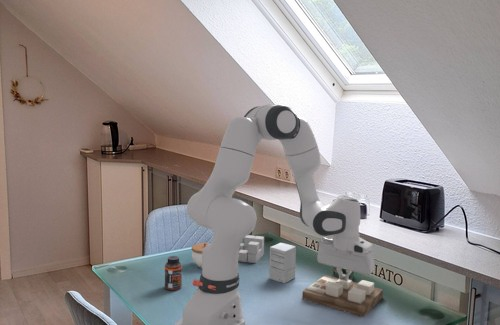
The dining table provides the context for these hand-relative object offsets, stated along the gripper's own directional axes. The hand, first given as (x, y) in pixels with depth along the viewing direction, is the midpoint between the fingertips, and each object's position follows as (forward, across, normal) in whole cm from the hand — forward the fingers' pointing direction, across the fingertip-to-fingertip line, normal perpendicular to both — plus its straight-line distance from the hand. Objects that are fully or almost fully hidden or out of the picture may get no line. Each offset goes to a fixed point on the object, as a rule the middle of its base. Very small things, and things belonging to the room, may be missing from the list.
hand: (343, 280), depth 172 cm
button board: (+5, +2, -4) cm, 7 cm away
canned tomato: (+5, -7, +15) cm, 17 cm away
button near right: (+3, +8, -8) cm, 11 cm away
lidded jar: (+6, -56, -8) cm, 57 cm away
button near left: (+3, 0, -8) cm, 8 cm away
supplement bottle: (+6, -51, -32) cm, 61 cm away
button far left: (+4, 0, 0) cm, 4 cm away
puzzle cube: (+6, -49, +11) cm, 50 cm away
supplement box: (+5, -24, -1) cm, 25 cm away
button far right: (+2, +8, 0) cm, 8 cm away
